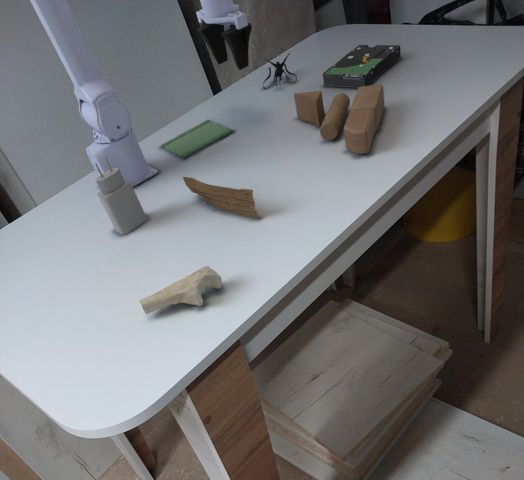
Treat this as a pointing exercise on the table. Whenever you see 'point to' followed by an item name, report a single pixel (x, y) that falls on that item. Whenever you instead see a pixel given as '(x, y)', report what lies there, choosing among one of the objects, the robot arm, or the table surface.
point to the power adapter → (119, 200)
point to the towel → (196, 139)
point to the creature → (278, 71)
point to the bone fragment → (183, 290)
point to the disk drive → (361, 65)
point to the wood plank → (224, 197)
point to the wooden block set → (358, 122)
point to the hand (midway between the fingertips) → (232, 64)
